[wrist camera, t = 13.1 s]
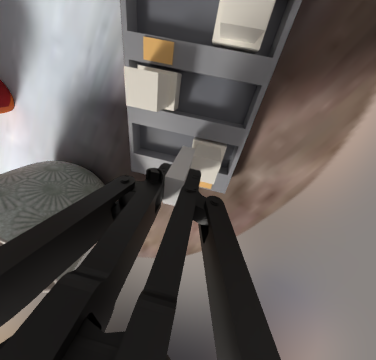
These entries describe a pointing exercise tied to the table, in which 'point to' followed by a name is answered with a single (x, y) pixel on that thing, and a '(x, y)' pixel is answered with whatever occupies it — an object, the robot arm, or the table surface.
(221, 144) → the tab
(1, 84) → the paper cup
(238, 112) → the switch bank
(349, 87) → the table surface
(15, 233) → the concrete flower pot
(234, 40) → the tab
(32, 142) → the table surface
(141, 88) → the tab
